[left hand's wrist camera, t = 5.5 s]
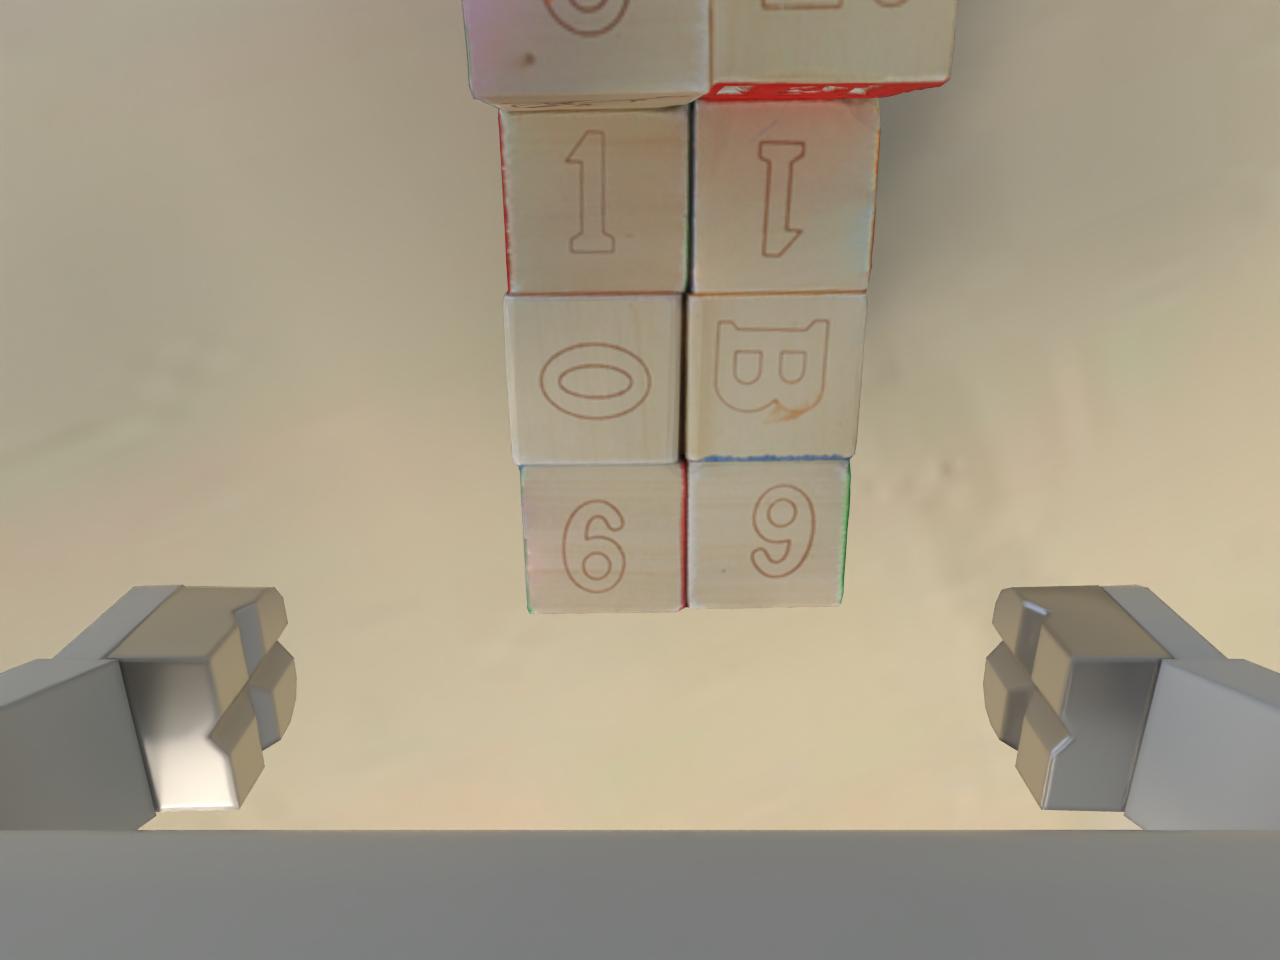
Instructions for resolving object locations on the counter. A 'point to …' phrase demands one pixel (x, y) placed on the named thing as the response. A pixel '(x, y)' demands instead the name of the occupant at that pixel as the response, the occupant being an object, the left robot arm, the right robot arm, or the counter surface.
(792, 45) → the stack of blocks
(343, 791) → the counter surface
